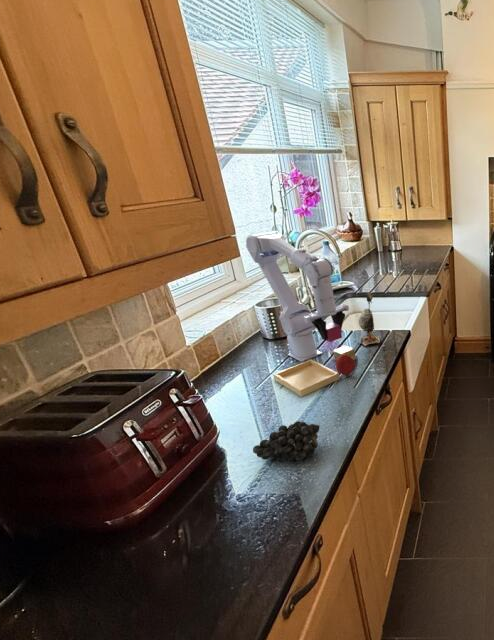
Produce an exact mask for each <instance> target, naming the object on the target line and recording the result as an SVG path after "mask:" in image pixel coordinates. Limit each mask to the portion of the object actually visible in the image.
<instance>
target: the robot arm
mask: <svg viewBox="0 0 494 640" xmlns="http://www.w3.org/2000/svg"><path fill="white" fill-rule="evenodd" d="M245 247H246V249H247V251H248V253H249V255H250V256H251V258H252V260H253V262H254V263H256V264H257V265H258V266H259V268H260V270H261V271H262V273H263V276H264V277H265V279H266V281H267V282H268V284H269V286H270V288H271V290H272V291H273V293H274V295H275V297H276V299H277V301H278V302H279V304H280V306H281V307H282V311H281V313H280V315H279V317H278V319H279V322H280V324H281V328H282V330H283V332H284V334H286V335H287V336H286V341H287V344H288V348H289V353H288V354H287V355H288V356H289V357H291V358H293V359H295V360H297V361H299V362H300V363H303V362H305V361H308V360H310V359H312V358H315V357H318V356H320V355H322V354H323V352H322V351H320V350H318V348H317V344H316V341H315V337H314V336H315V334H314V330H315V328H316V330H317V331H318V333H319V335H320V337H321V339H322V340H324V341H326V340H327V332H326V324H327V321H325V320H324V318H327V317H331V320H332V322H333V323H335V324H338V325H340V329H341V331H342V330H343V323H344V320H345V318H346V313H344V312H348V311H350V309H349V308H350V307H349V304H346V303H343V304H339V305H336V301H335V300H336V299H335V294H334V290H333V284H332V278H331V276H333V274H334V266H333V264H332V262H331V261H330V260H329V259H328V258H326V257H323V258H321V257H317V256H316V255H314V254H312V253H310V252H309V251H307V249H306V248H296V247H295V246H294V245H292V244H291V243H289V241H286V240H285V237H284V235H283V234H282V233H280V232H279V231H277V230H272V231H269V232H262V233H257V234H249V235H247V236H246V240H245ZM281 255H283V256H285V257H287V258H288V259H290V262H291V264H292V265H294V266H295V267H296V268H298V269H300V270H301V271H302V272H304V274H305V276H306V278H307V279H308V282H309V285H310V286H311V287H312V293H313V297H314V303H315V308H316V311H313V312H312V311H311V310H310V308H309V307H308V305H306V304H303V303H299V301H298V299H297V298H296V296H295V294H294V292H293V290H292V288H291V287H290V285H289V283H288V281H287V279H286V276H285V275H284V274H283V272H282V270H281V268H280V266H279V265H278V262H277V261H278V260H279V258H280V257H281Z"/></svg>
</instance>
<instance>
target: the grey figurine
mask: <svg viewBox="0 0 494 640" xmlns="http://www.w3.org/2000/svg"><path fill="white" fill-rule="evenodd" d="M365 296H366V297H365V298H366V302H368V308H364V309H363V310H362V312H361V314H360V315H359V318H358V325H359V327H360V329H361V330H363V332H366V335H363V336H362V337H361V338H359V339H358V343H359V344H363V345H364V346H365V347H366V346H368V345H370V344H371V345H372V344H380V343H381V338H380V336H376V335H373V333H374V330H375V323H374V317H373V316H374V315H373V312H372V310H371V309H370V308H371V304H373V302H372V300H373V294H371V293H370V292H369V291H367V292H366V293H365Z"/></svg>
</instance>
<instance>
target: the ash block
mask: <svg viewBox="0 0 494 640" xmlns="http://www.w3.org/2000/svg"><path fill="white" fill-rule="evenodd" d="M332 352H333V358H334V361H335V362H337V360H338V359H339V358H340V357H341V356H342V353H344V354H345V355H348V356H350V357H351V358H352V359H353V360H354V361H355V360H357V358H356V352H355V348H353V347H351V346H348V345H343V346H340V347H337V348H335V349H333V350H332Z"/></svg>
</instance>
